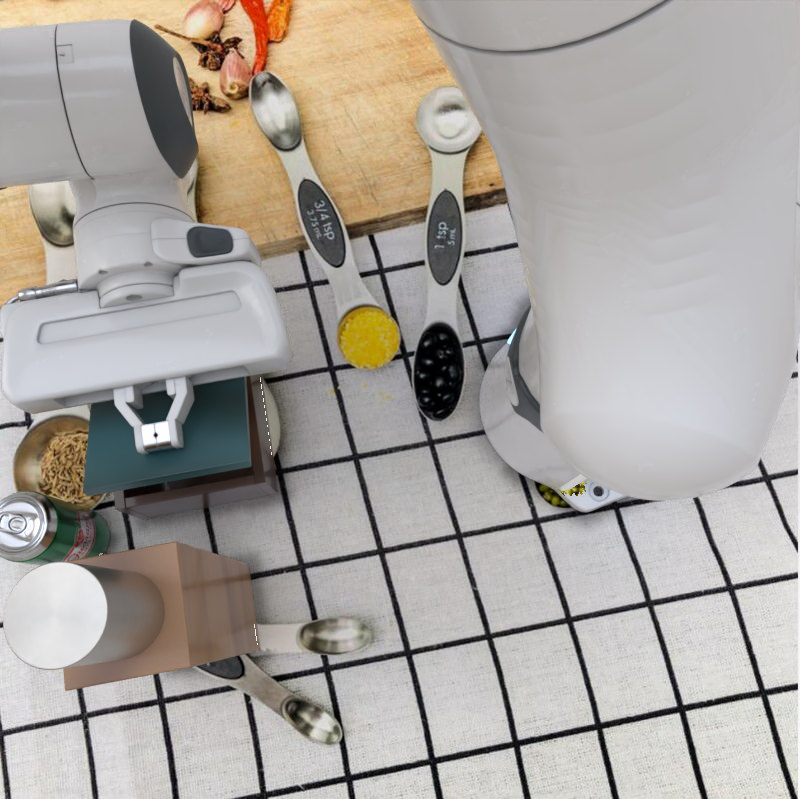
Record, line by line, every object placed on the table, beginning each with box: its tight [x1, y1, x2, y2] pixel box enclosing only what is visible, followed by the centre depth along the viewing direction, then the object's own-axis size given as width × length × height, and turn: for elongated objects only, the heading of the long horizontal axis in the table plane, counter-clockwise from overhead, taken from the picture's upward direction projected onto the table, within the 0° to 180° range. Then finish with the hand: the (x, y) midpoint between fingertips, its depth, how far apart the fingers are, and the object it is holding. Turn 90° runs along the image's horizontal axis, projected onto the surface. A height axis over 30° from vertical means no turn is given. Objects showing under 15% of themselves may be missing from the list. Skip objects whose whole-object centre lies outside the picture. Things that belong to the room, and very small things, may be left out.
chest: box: [113, 374, 280, 520], centre depth 68 cm, size 13×12×7 cm
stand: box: [62, 541, 261, 692], centre depth 57 cm, size 7×7×22 cm
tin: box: [2, 561, 164, 671], centre depth 42 cm, size 5×5×9 cm
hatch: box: [82, 377, 251, 497], centre depth 62 cm, size 13×12×1 cm
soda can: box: [0, 490, 111, 566], centre depth 64 cm, size 5×5×12 cm
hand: (160, 450), depth 58 cm, fingers closed
